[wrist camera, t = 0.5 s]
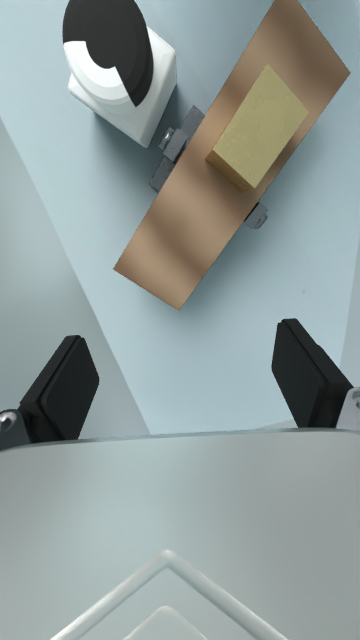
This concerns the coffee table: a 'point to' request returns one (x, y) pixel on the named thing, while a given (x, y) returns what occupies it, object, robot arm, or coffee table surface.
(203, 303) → the coffee table surface
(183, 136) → the stand
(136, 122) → the container
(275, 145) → the slider
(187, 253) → the beam
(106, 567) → the robot arm
